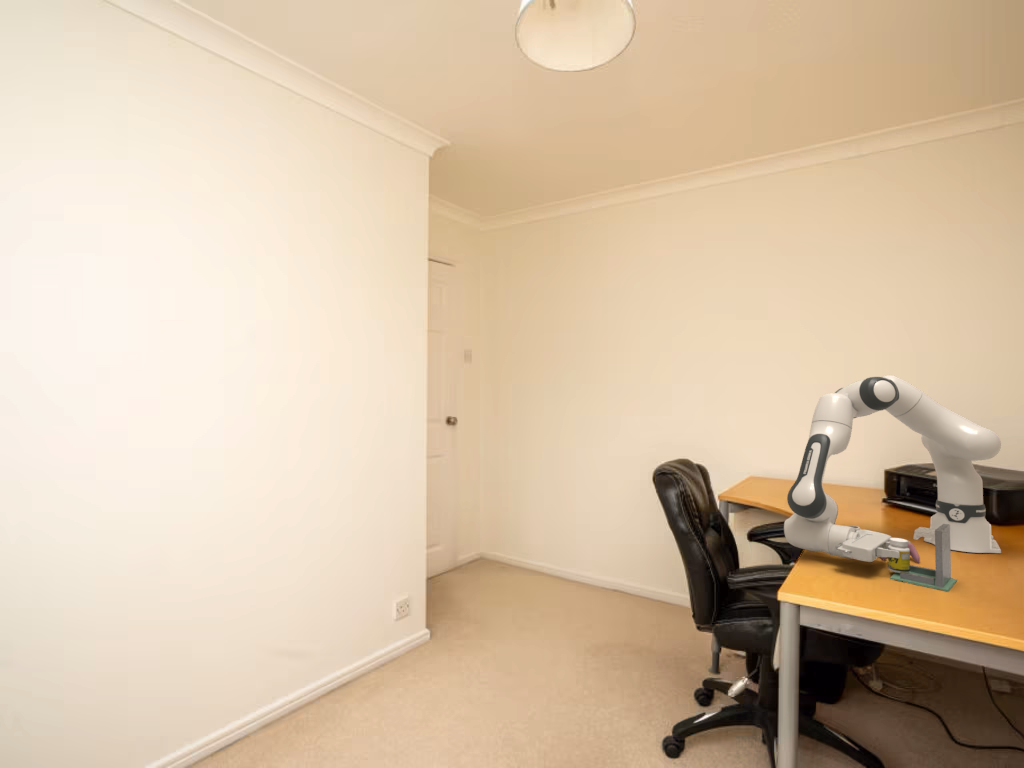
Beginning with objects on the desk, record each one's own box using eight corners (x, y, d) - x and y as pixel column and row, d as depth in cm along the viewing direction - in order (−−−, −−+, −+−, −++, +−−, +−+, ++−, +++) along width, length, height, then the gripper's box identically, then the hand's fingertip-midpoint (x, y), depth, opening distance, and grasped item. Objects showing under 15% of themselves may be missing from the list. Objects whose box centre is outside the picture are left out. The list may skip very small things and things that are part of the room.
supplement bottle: (883, 568, 146) (883, 537, 146) (900, 567, 146) (899, 536, 146) (898, 574, 141) (897, 542, 141) (914, 573, 141) (914, 541, 142)
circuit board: (901, 569, 148) (901, 568, 148) (956, 581, 139) (956, 579, 139) (890, 579, 140) (890, 577, 140) (948, 591, 131) (948, 589, 131)
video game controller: (916, 565, 156) (911, 541, 159) (922, 562, 152) (917, 537, 155) (877, 562, 159) (873, 538, 162) (882, 559, 155) (877, 535, 158)
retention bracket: (909, 570, 146) (908, 518, 146) (951, 578, 139) (949, 524, 139) (899, 578, 139) (898, 524, 139) (943, 587, 133) (941, 531, 133)
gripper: (831, 537, 146) (892, 548, 136) (855, 524, 160) (912, 533, 150) (832, 560, 146) (892, 573, 136) (856, 545, 160) (912, 556, 150)
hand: (903, 552), depth 143 cm, fingers closed on supplement bottle, 5 cm apart
